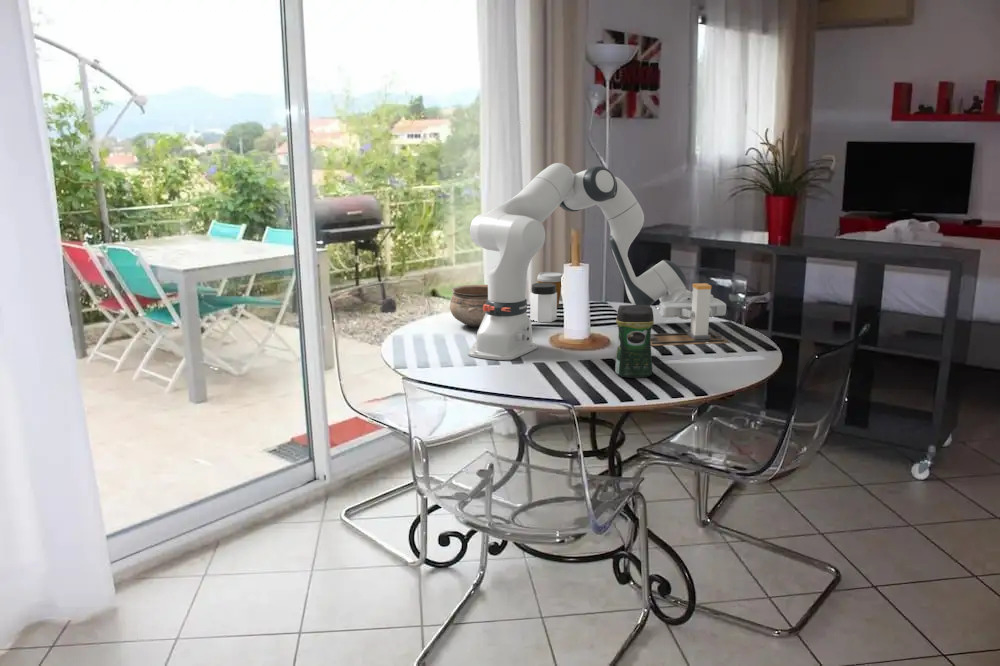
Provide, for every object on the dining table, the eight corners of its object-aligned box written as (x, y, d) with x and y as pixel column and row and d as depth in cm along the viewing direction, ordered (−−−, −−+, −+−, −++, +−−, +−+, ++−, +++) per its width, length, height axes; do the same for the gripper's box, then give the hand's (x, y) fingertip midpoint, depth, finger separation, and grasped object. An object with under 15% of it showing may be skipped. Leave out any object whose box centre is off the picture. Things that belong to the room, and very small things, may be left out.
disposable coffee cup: (550, 302, 298) (550, 271, 295) (568, 307, 291) (569, 274, 288) (531, 306, 292) (531, 273, 289) (549, 310, 285) (549, 277, 282)
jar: (537, 315, 278) (538, 281, 275) (559, 318, 274) (560, 283, 271) (526, 321, 270) (526, 286, 267) (548, 323, 266) (549, 288, 263)
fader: (694, 339, 240) (697, 286, 236) (687, 334, 246) (690, 283, 242) (710, 338, 240) (713, 286, 236) (703, 334, 246) (706, 282, 242)
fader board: (645, 349, 235) (646, 342, 234) (633, 338, 247) (633, 331, 247) (730, 346, 238) (731, 339, 237) (714, 335, 250) (714, 328, 250)
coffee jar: (649, 370, 215) (652, 302, 211) (653, 379, 208) (657, 308, 203) (613, 369, 216) (615, 302, 211) (616, 378, 208) (618, 308, 203)
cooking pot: (505, 336, 250) (505, 297, 247) (445, 335, 252) (444, 297, 249) (509, 317, 275) (509, 282, 272) (454, 317, 276) (454, 282, 273)
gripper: (653, 295, 252) (668, 305, 238) (716, 294, 254) (734, 303, 241) (652, 315, 253) (667, 326, 240) (715, 313, 256) (732, 323, 242)
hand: (701, 314), depth 240 cm, fingers closed on fader, 4 cm apart
